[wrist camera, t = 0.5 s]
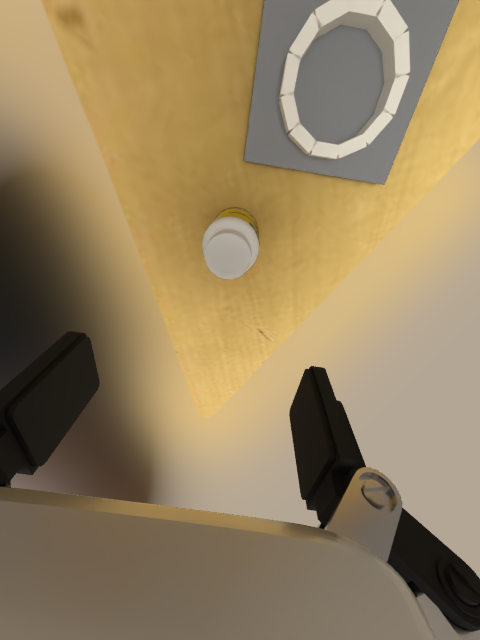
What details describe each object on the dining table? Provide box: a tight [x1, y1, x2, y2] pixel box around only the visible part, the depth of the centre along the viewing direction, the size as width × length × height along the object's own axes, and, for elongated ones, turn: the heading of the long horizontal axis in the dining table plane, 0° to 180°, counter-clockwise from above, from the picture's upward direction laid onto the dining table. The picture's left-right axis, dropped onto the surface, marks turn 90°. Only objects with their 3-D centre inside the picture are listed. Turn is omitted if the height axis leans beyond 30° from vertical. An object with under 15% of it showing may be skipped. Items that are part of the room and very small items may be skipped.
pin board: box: [244, 0, 459, 185], centre depth 19 cm, size 20×14×4 cm
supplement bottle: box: [202, 207, 259, 279], centre depth 25 cm, size 5×5×10 cm
